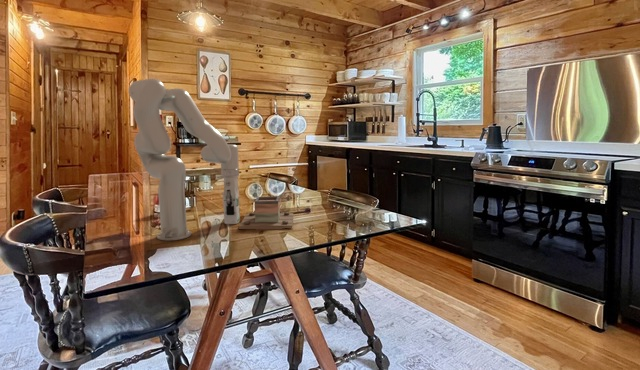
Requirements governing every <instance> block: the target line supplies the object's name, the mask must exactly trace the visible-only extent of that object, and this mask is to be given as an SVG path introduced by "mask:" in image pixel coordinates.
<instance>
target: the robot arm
mask: <svg viewBox="0 0 640 370" xmlns="http://www.w3.org/2000/svg"><path fill="white" fill-rule="evenodd" d="M128 94H129V97H130V98H131V100H132V101H134V102H135V103H134V106H133V117H134V121H135V123H136V127H137V128H138V132H137V133H136V134H135V136H134V141H133V142H134V143H133V144H134V146H135V147H134V148H135V150H136V153H137V154H138V156H139V159H140V161H141V163H142V165H143V167H144V169H145V170H146V172H147V173H148V175H149V176H151V177H152V178H155V179H158V180H159V183H158V188H157V190H158V193H157V194H158V195H157V197H158V205H159V220H160V221H159V223H160V232H158V233H157V234H156V235H157V236H156V238H157V239H158V240H160V241H167V242H168V241H178V240H184V239H186V238H189V237H191V235H192V231H191V230H189V229H187V227H188V225H187V213H186V212H187V211H186V209H187V208H186V206H185V201H186V195H185V181H186V165H185V163H184V161H183V160H182V159H181V158H179V157H177V156H176V155H175V156H174V155H166V154H168V153H169V152H170V151H171V149H172V140H171V139H170V135H169V133H168V131H167V130H166V126H165V124H164V122H163V120H162V117H161V113H160V110H161V111H166V112H174V114H175V116H176V117H177V118H178V120H179V121H180V123H181V124H182V125H183V126H182V127H183V128H184V130H186V132H187V133H189V134H190V135H192V136H194V137H195V138H197V139H200V140H201V141H202V142H203V143H205V144H206V145H205V146H203V147H202V149H201V151H200V157H201V158H202V160H204V161H205V162H207V163H210V164H211V163H212V164H220V175H221V177H222V178H223V192H224V197H225V199H226V212H227V215H234V206H233V199H234V200H235V199H237V197H238V194H239V195H240V192H239V180H238V177H240V175H239V174H240V167H239V147H238V145H236V144H235V143H234V144H232V143H231V144H230V143H229V144H228V143H227V140H226V139H225V138H224V137H223V135H222V134H221V133H220V132H219V131H218V129H216V128H215V127H214V126H213V125H212V124H210V123H209V122H208V121H207V120H206V118H205V117H204V116H203V114H202V112H201V111H200V109H199V108H198V106H197V104H196V102H195V101H194V99H193V98H192V96H191V95H190V94H189V92H188V91H187V90H186V89H183V88H170V89H169V88H168V89H167V88H166V86H165V85H164V83H163V82H162V81H161V80H160V79H156V78H147V79H141V80H140V79H139V80H135V81H133V82H132V83H131V84H130V86H129V88H128ZM226 196H227V198H226ZM230 198H232V199H230ZM231 201H232V203H231Z"/></svg>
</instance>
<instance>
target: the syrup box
mask: <svg viewBox="0 0 640 370" xmlns="http://www.w3.org/2000/svg"><path fill="white" fill-rule="evenodd" d="M239 196H240V193H239V194H238V197H237V199H235V200H234V199H233V206H234V215H227V212H226V199H225V197H224V191H223V192H222V203H223V204H222V205H223V219H224V220H223V221H224V224H225V225H237V224H238V223H239V222H241V221H240V220H241V214H240V197H239ZM226 198H227V196H226ZM230 199H232V198H230ZM231 203H232V201H231Z"/></svg>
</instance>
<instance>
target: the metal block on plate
mask: <svg viewBox="0 0 640 370" xmlns="http://www.w3.org/2000/svg"><path fill="white" fill-rule="evenodd" d="M280 201H281V199H280V196H256V198H255V199H254V212H249V213H245V215H244V218H242V221H240V224H239V225H238V230H239V229H256V230H283V229H282V228H292V229H293V225H292V224H293V223H294V212H289V211H284V212H281V211H280V210H281V209H280V207H281V204H280Z"/></svg>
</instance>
